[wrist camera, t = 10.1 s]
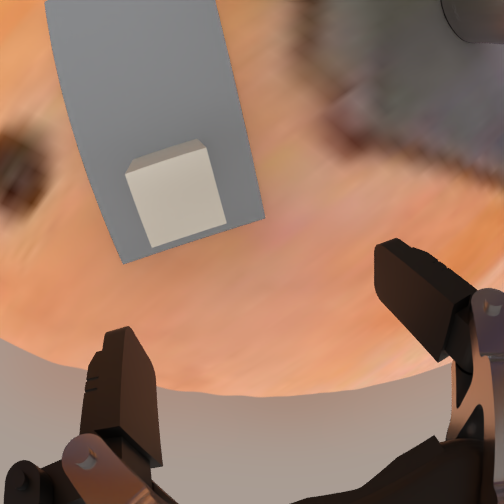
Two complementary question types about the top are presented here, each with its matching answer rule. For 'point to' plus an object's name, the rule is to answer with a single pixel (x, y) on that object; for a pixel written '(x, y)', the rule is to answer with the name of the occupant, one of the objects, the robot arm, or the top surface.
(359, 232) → the top surface
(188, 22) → the board
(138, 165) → the beige cube block
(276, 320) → the top surface
